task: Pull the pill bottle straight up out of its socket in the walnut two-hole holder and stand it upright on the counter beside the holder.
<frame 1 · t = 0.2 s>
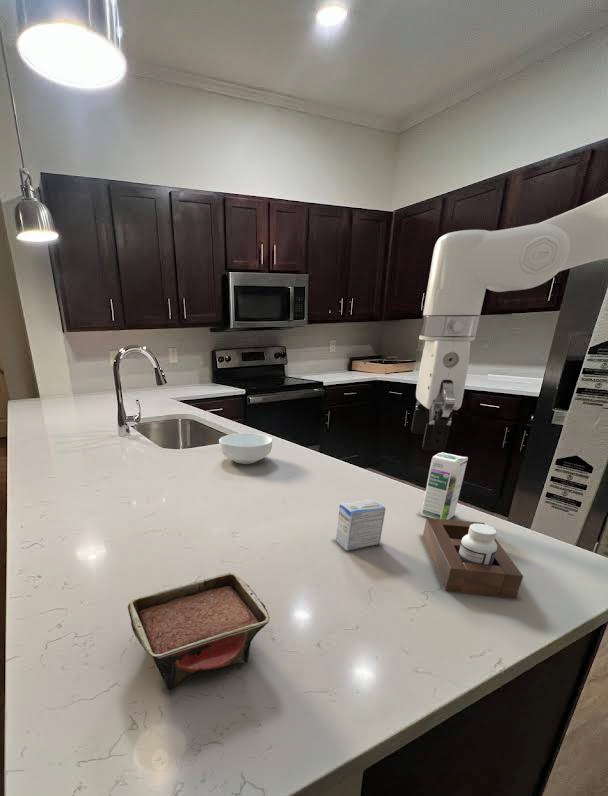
hand: (426, 440, 69), 24 cm above the counter, tool pointing down, fingers open, 9 cm apart
holder: (463, 564, 79), on the counter
cereal bowl: (245, 460, 136), on the counter
baking dish: (199, 647, 60), on the counter
medicine box: (357, 544, 86), on the counter
syrup box: (437, 516, 98), on the counter
pill bottle: (469, 577, 75), resting in holder
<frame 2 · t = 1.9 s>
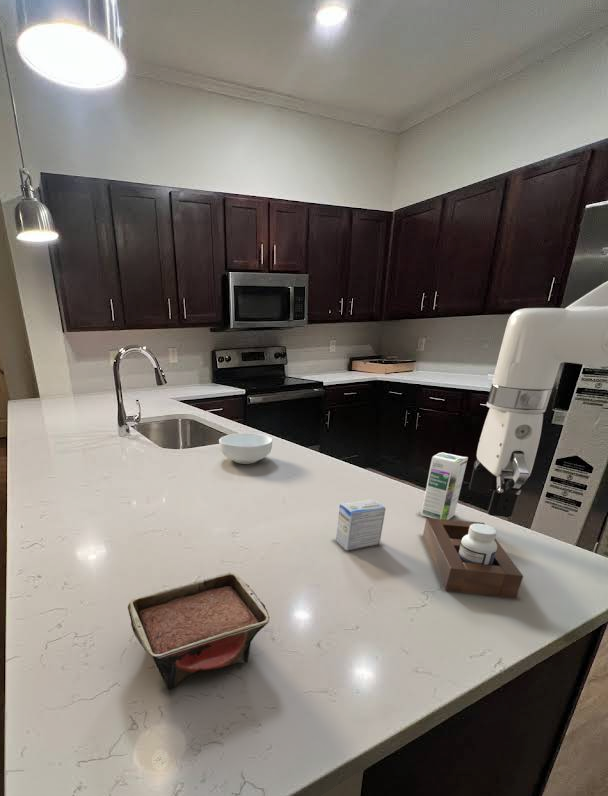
hand: (488, 502, 69), 15 cm above the counter, tool pointing down, fingers open, 9 cm apart
nothing on the counter moved.
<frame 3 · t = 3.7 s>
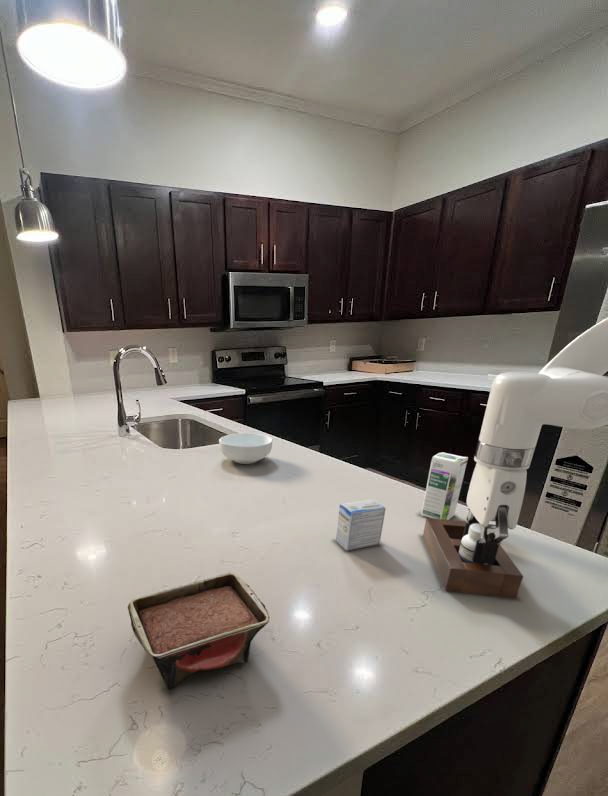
hand: (476, 552, 73), 5 cm above the counter, tool pointing down, fingers closed on pill bottle, 5 cm apart
pill bottle: (469, 577, 75), resting in holder, touching gripper
everything else where it was.
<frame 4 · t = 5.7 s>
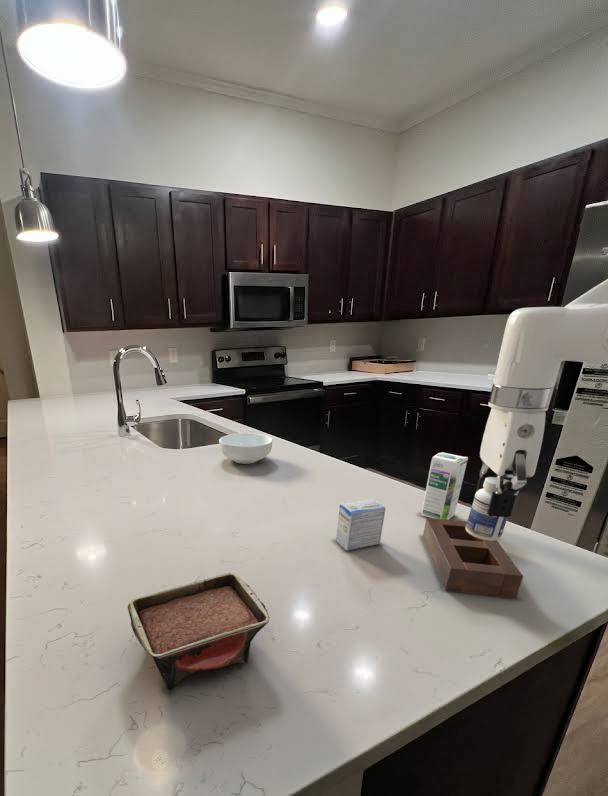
hand: (491, 506, 69), 14 cm above the counter, tool pointing down, fingers closed on pill bottle, 5 cm apart
pill bottle: (481, 534, 72), point 9 cm above the counter, touching gripper
everything else where it was.
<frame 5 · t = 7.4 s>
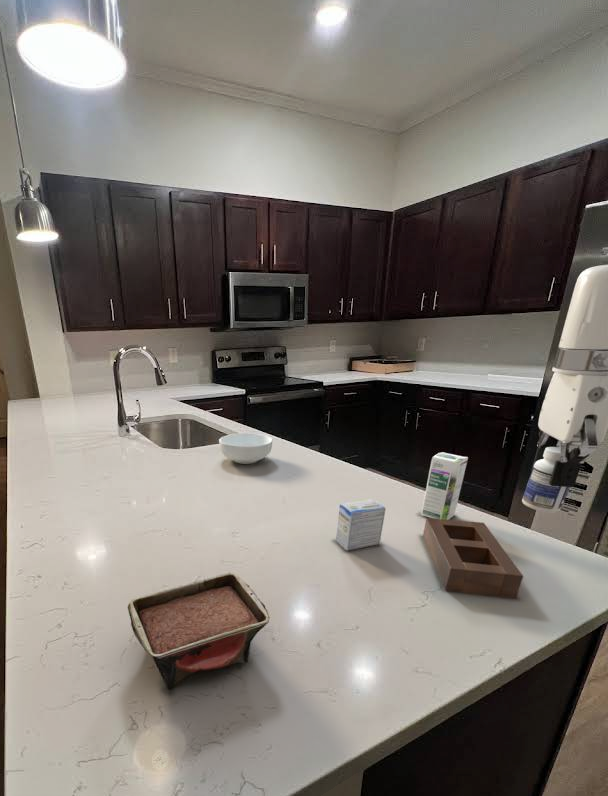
hand: (551, 477, 67), 19 cm above the counter, tool pointing down, fingers closed on pill bottle, 5 cm apart
pill bottle: (539, 507, 70), point 14 cm above the counter, touching gripper
everything else where it was.
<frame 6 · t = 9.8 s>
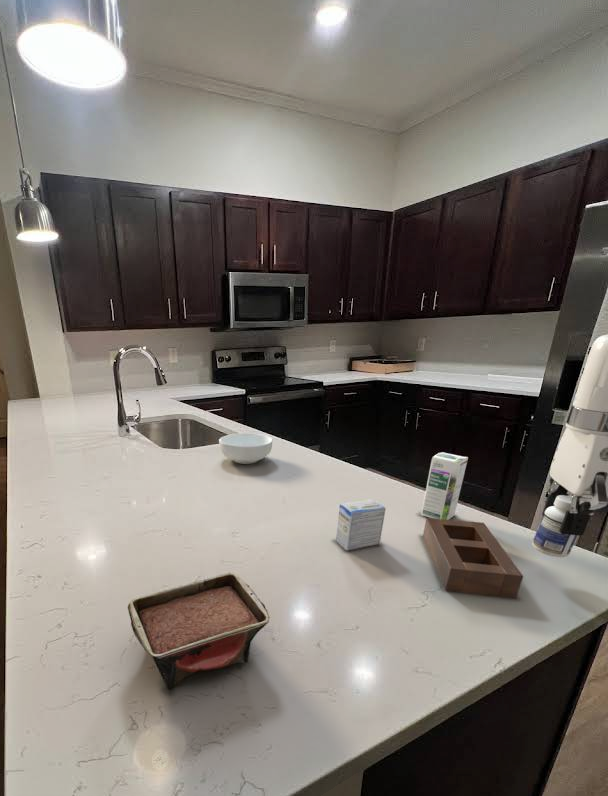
hand: (561, 524, 71), 10 cm above the counter, tool pointing down, fingers closed on pill bottle, 5 cm apart
pill bottle: (548, 551, 73), point 5 cm above the counter, touching gripper
everything else where it was.
when the fingers open (5 cm above the counter, at t = 11.4 s): pill bottle stays where it is, on the counter.
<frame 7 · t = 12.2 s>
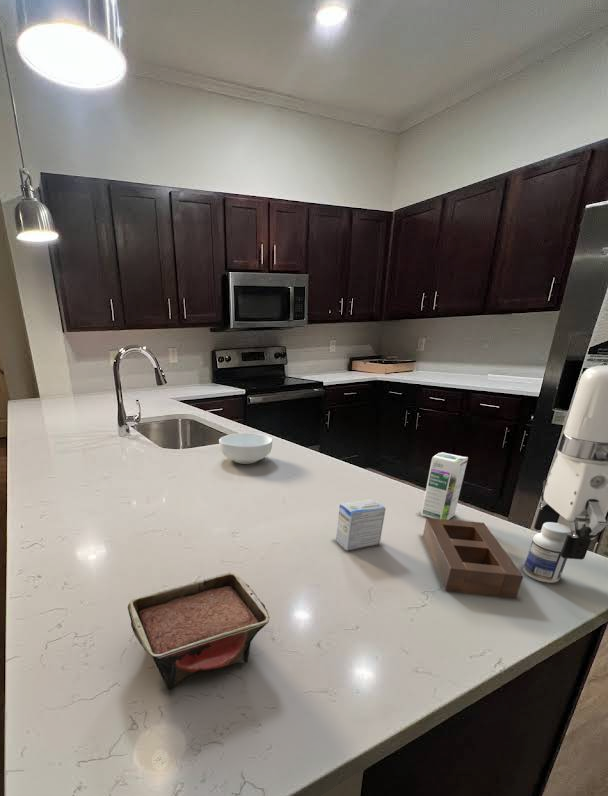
hand: (556, 543, 72), 7 cm above the counter, tool pointing down, fingers open, 9 cm apart
pill bottle: (540, 575, 75), on the counter
everything else where it was.
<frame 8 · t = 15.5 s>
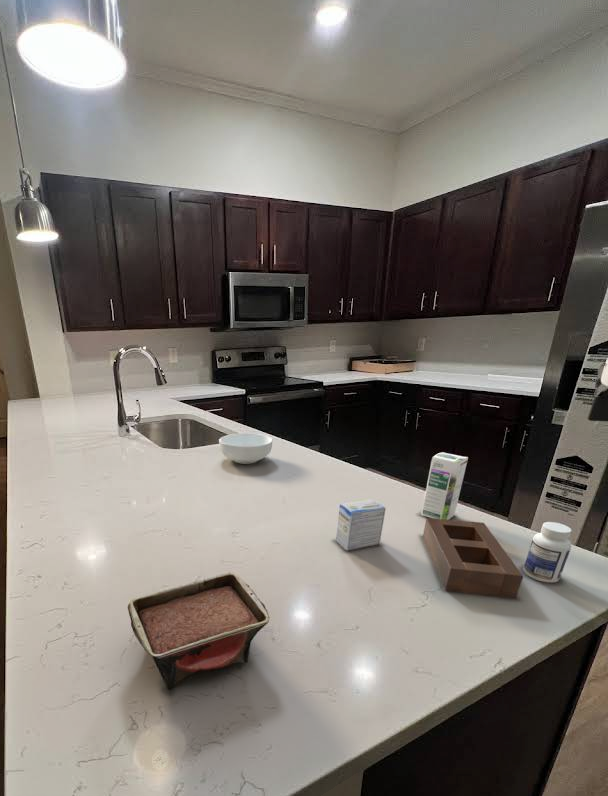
nothing on the counter moved.
at the end: pill bottle inside the target area (0.6 cm from its centre), on the counter; pill bottle tilted 0°; the gripper is holding nothing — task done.
